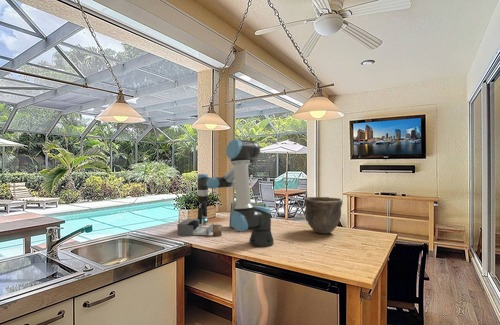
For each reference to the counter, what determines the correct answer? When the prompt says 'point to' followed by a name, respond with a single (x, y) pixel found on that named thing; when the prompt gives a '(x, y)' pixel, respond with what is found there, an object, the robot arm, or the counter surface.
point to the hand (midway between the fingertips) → (202, 226)
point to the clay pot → (323, 213)
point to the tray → (203, 230)
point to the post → (217, 230)
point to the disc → (203, 220)
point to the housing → (187, 227)
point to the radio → (251, 204)
